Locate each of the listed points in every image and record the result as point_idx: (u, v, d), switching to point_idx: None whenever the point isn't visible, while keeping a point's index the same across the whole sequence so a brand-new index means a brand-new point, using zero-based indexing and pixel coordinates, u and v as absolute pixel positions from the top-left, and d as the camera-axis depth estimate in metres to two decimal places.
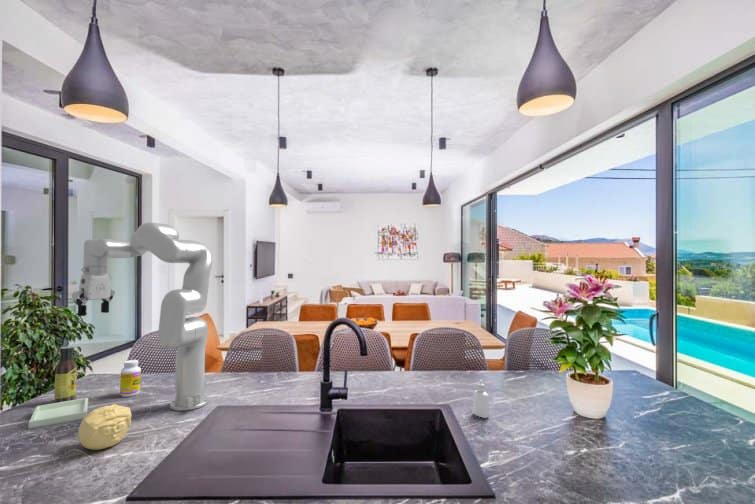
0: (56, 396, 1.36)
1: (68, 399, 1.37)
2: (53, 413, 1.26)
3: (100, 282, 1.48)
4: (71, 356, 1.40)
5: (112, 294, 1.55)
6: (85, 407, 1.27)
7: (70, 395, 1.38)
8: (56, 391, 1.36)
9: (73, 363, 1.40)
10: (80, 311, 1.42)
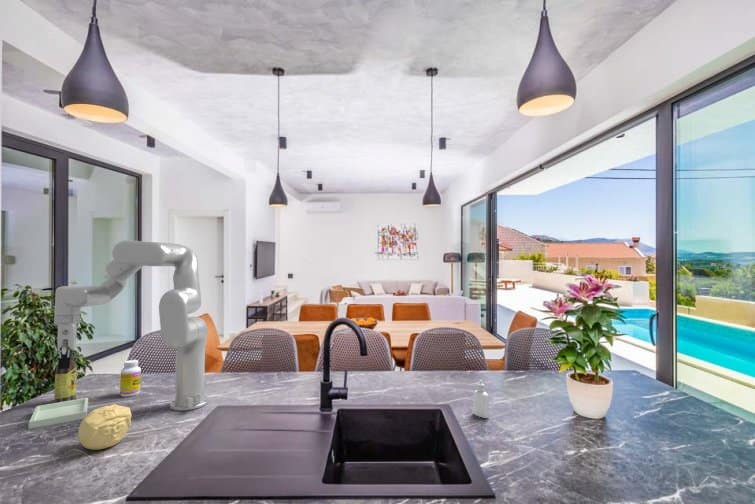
0: (56, 396, 1.36)
1: (68, 399, 1.37)
2: (53, 413, 1.26)
3: (76, 331, 1.41)
4: (71, 356, 1.40)
5: None
6: (85, 407, 1.27)
7: (70, 395, 1.38)
8: (56, 391, 1.36)
9: (73, 363, 1.40)
10: (65, 364, 1.35)
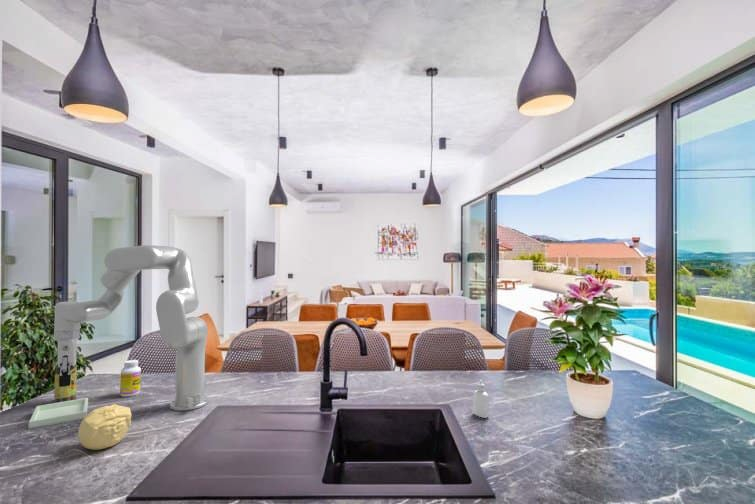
0: (56, 396, 1.36)
1: (68, 399, 1.37)
2: (53, 413, 1.26)
3: (76, 346, 1.41)
4: None
5: None
6: (85, 407, 1.27)
7: (70, 395, 1.38)
8: (56, 391, 1.36)
9: None
10: (66, 381, 1.36)
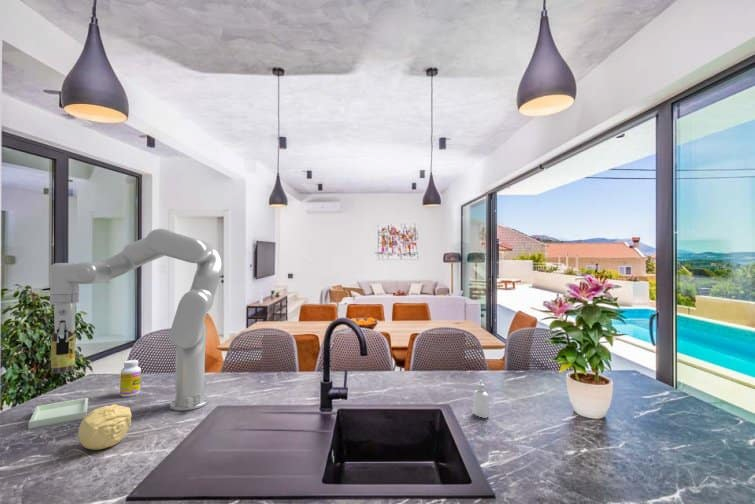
0: (53, 365, 1.24)
1: (66, 369, 1.25)
2: (53, 413, 1.26)
3: None
4: None
5: None
6: (85, 407, 1.27)
7: (68, 364, 1.25)
8: (53, 360, 1.24)
9: None
10: (63, 349, 1.24)
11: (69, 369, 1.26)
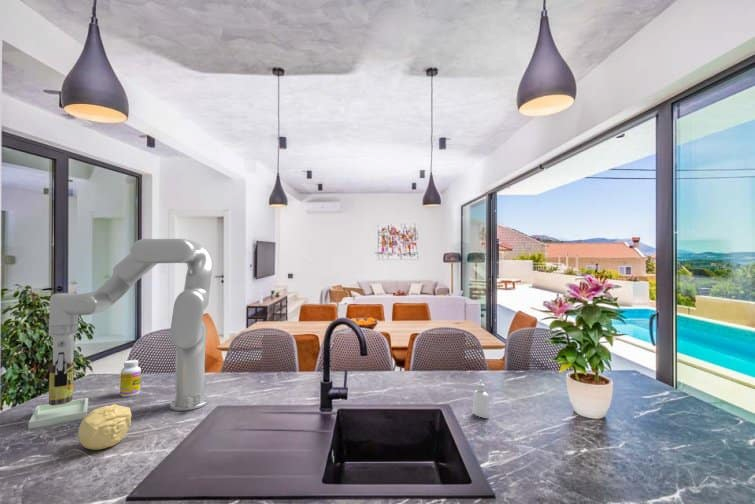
0: (51, 397, 1.23)
1: (64, 400, 1.24)
2: (53, 413, 1.26)
3: (73, 342, 1.28)
4: None
5: None
6: (85, 407, 1.27)
7: (66, 396, 1.25)
8: (51, 392, 1.23)
9: None
10: (61, 381, 1.23)
11: (67, 401, 1.25)
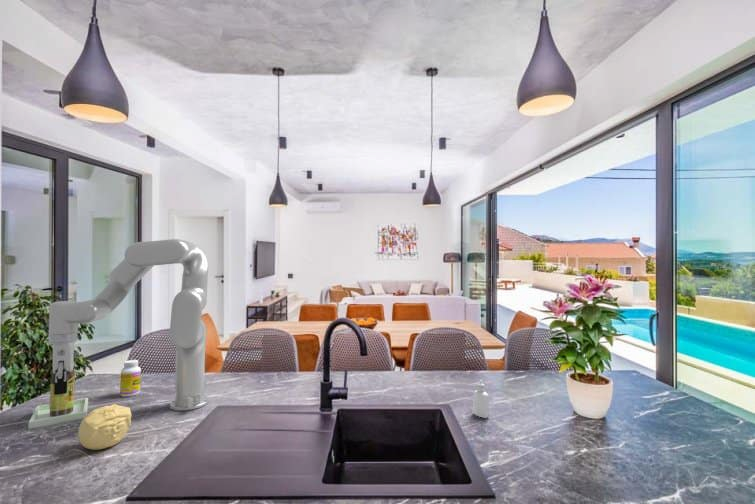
0: (51, 408, 1.23)
1: (65, 412, 1.24)
2: None
3: (73, 350, 1.28)
4: None
5: None
6: (85, 407, 1.27)
7: (67, 407, 1.25)
8: (52, 403, 1.23)
9: (71, 372, 1.27)
10: (61, 389, 1.22)
11: (68, 412, 1.25)
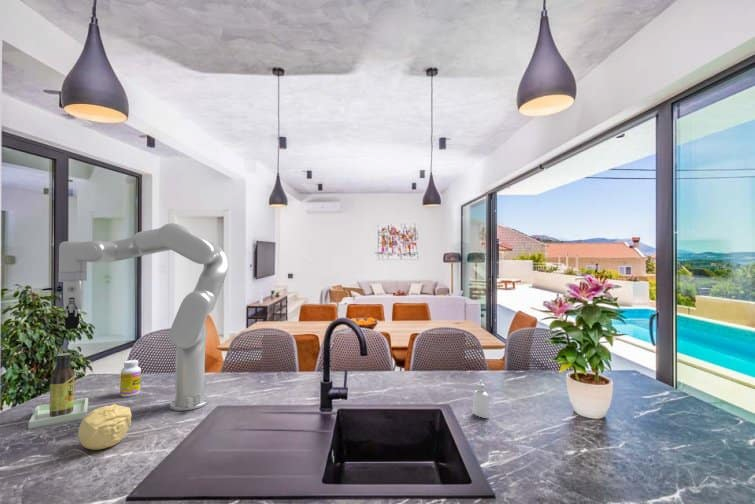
0: (51, 408, 1.23)
1: (65, 412, 1.24)
2: None
3: None
4: (68, 364, 1.27)
5: None
6: (85, 407, 1.27)
7: (67, 407, 1.25)
8: (51, 403, 1.23)
9: (70, 372, 1.27)
10: (72, 324, 1.24)
11: (68, 412, 1.25)
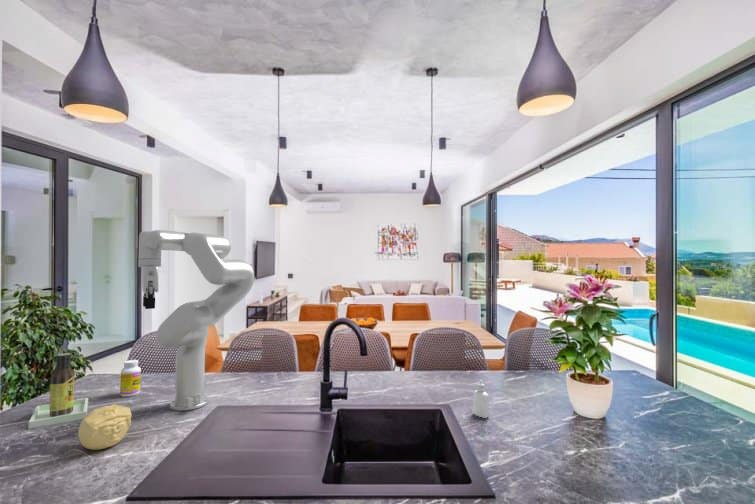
0: (51, 408, 1.23)
1: (65, 412, 1.24)
2: None
3: None
4: (68, 364, 1.27)
5: None
6: (85, 407, 1.27)
7: (67, 407, 1.25)
8: (51, 403, 1.23)
9: (70, 372, 1.27)
10: (151, 304, 1.41)
11: (68, 412, 1.25)
